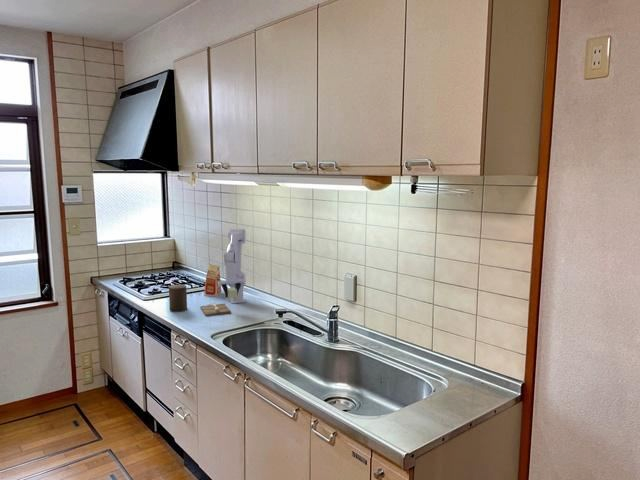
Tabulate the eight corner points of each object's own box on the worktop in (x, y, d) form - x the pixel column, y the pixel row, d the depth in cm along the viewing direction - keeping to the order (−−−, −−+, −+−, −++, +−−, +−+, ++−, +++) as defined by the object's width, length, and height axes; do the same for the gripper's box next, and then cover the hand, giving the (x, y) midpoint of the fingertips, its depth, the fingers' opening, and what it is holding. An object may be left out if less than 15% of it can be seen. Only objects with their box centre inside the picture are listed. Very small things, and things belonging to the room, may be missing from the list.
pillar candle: (180, 312, 271) (179, 286, 269) (166, 310, 275) (165, 285, 272) (190, 308, 281) (189, 282, 278) (176, 306, 284) (175, 281, 282)
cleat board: (200, 308, 280) (200, 303, 280) (224, 305, 285) (224, 301, 285) (205, 316, 265) (205, 311, 265) (230, 313, 271) (230, 308, 270)
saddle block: (226, 298, 275) (225, 288, 274) (234, 297, 277) (234, 287, 276) (228, 301, 270) (228, 291, 269) (237, 300, 272) (237, 290, 271)
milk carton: (204, 295, 306) (203, 264, 303) (210, 291, 315) (209, 261, 312) (218, 296, 305) (217, 265, 302) (223, 292, 314) (222, 262, 311)
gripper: (219, 275, 265) (220, 299, 267) (245, 273, 271) (245, 297, 273) (216, 273, 271) (217, 296, 273) (242, 271, 277) (242, 294, 279)
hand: (231, 296), depth 274 cm, fingers closed on saddle block, 5 cm apart
